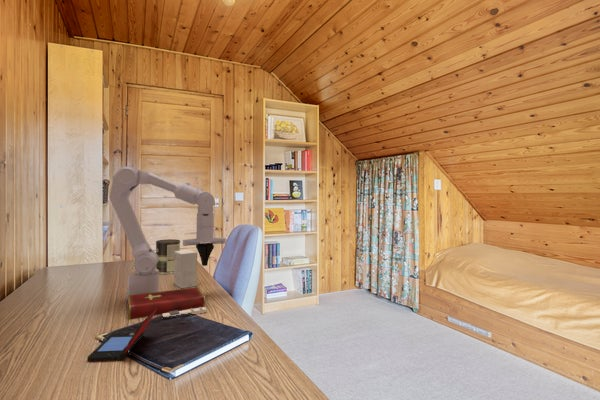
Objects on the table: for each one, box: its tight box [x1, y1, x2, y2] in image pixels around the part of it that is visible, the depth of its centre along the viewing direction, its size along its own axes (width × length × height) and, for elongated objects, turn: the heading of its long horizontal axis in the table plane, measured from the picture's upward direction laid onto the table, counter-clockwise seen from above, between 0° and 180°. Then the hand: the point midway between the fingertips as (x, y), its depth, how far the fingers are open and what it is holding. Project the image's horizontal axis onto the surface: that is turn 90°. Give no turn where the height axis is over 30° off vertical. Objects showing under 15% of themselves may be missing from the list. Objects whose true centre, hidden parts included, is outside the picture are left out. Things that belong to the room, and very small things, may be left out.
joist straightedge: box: [161, 306, 208, 317], centre depth 95 cm, size 12×2×1 cm, turn 121°
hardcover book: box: [127, 286, 206, 320], centre depth 102 cm, size 12×21×4 cm, turn 118°
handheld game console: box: [87, 308, 157, 363], centre depth 74 cm, size 12×11×7 cm
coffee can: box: [155, 238, 181, 275], centre depth 149 cm, size 10×10×14 cm
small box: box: [173, 249, 198, 289], centre depth 127 cm, size 8×6×13 cm
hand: (204, 265), depth 115 cm, fingers closed
